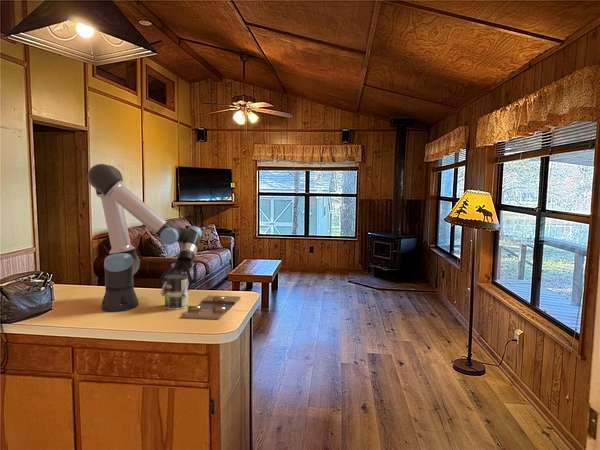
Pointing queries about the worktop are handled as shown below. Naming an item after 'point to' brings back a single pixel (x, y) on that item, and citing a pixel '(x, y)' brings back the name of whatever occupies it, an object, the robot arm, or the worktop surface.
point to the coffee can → (175, 291)
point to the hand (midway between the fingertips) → (173, 295)
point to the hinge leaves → (211, 307)
